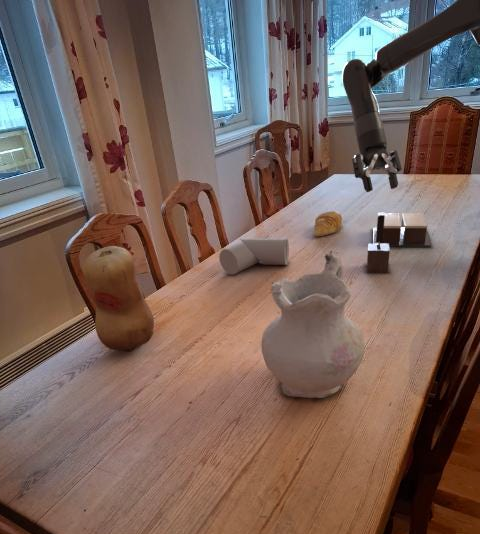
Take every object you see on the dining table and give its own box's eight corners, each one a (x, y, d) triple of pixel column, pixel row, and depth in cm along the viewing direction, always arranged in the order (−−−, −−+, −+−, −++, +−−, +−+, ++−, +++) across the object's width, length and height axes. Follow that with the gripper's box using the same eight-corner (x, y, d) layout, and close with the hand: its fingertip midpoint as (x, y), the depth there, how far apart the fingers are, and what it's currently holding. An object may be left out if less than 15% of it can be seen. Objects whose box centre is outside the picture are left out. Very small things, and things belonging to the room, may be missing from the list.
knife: (380, 266, 132) (384, 212, 123) (380, 270, 130) (384, 215, 121) (373, 266, 132) (377, 212, 124) (374, 270, 130) (378, 215, 122)
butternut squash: (93, 362, 100) (61, 263, 88) (115, 331, 112) (89, 240, 99) (149, 362, 98) (125, 261, 86) (166, 331, 110) (146, 238, 97)
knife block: (387, 264, 133) (389, 243, 129) (387, 273, 128) (389, 250, 124) (366, 264, 134) (368, 243, 131) (366, 272, 129) (368, 250, 126)
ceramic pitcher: (286, 347, 100) (272, 247, 89) (372, 353, 93) (370, 244, 81) (255, 408, 83) (234, 294, 72) (358, 422, 76) (353, 296, 64)
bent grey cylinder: (257, 247, 152) (215, 266, 141) (260, 219, 146) (217, 237, 134) (296, 267, 143) (255, 290, 131) (301, 239, 136) (258, 260, 125)
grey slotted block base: (424, 229, 156) (427, 211, 153) (430, 247, 141) (433, 227, 138) (373, 229, 161) (374, 211, 157) (373, 247, 146) (374, 227, 143)
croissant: (323, 248, 158) (332, 231, 153) (301, 233, 160) (309, 216, 155) (344, 229, 173) (354, 212, 167) (324, 215, 175) (332, 199, 169)
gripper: (356, 128, 116) (369, 187, 116) (399, 125, 120) (411, 182, 120) (341, 141, 123) (353, 197, 123) (382, 138, 127) (394, 191, 127)
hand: (382, 189), depth 121 cm, fingers open, 8 cm apart
